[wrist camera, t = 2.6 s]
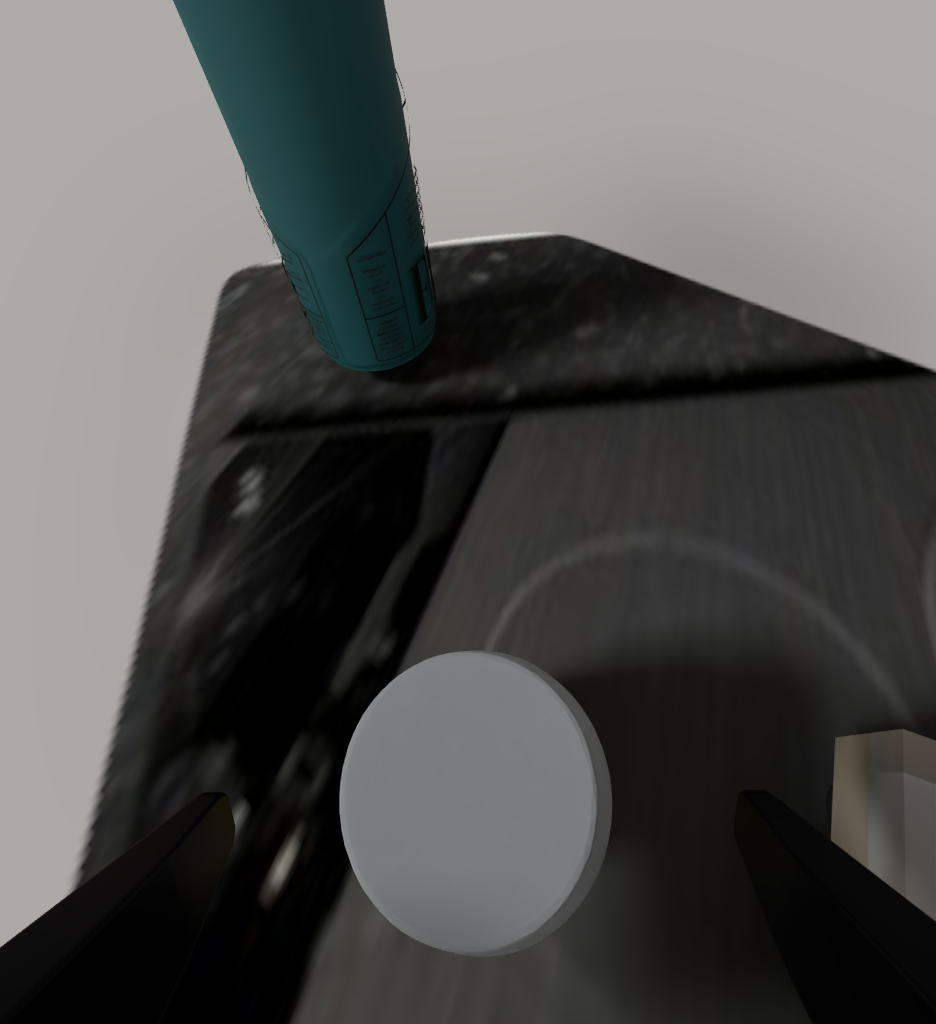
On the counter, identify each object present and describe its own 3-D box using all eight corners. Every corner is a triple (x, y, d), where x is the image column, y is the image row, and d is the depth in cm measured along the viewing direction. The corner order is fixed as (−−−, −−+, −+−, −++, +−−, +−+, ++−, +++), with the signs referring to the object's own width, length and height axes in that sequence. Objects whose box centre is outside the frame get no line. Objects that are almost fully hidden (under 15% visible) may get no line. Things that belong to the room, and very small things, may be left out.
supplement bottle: (490, 662, 17) (476, 552, 9) (607, 785, 15) (734, 792, 7) (376, 777, 16) (227, 774, 7) (488, 933, 14) (461, 1183, 5)
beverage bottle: (448, 387, 25) (313, -556, 7) (322, 404, 25) (-116, -499, 7) (437, 307, 28) (327, -475, 10) (326, 323, 28) (32, -434, 10)
